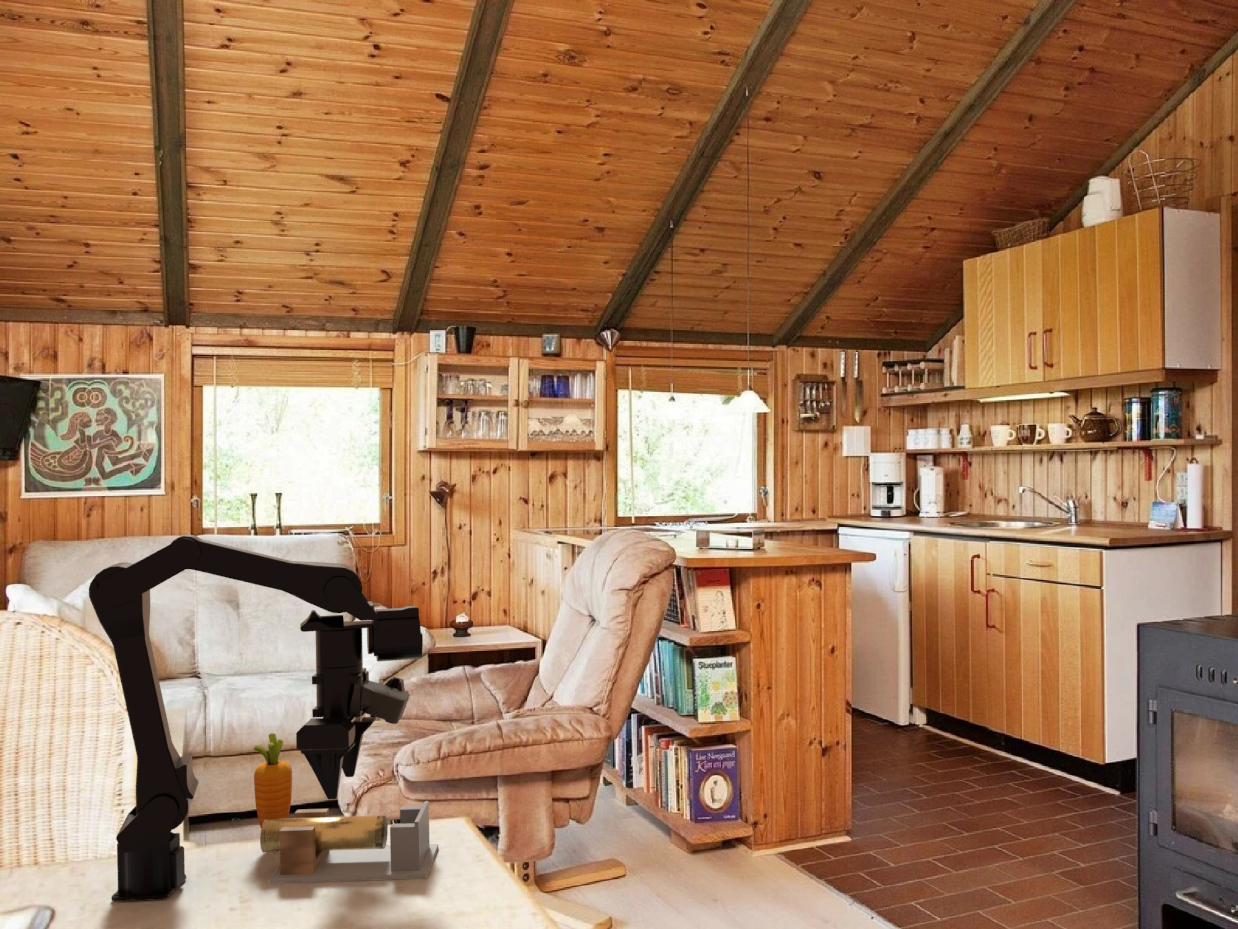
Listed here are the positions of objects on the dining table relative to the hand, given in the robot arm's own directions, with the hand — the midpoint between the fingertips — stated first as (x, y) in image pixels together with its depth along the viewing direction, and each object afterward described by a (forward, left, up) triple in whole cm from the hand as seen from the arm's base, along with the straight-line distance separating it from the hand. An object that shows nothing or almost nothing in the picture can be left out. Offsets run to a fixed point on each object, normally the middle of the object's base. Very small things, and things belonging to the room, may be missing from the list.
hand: (341, 787), depth 132 cm
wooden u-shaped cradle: (-5, 0, -10) cm, 11 cm away
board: (+2, 0, -10) cm, 10 cm away
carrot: (-11, +7, -10) cm, 16 cm away
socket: (+9, 0, -10) cm, 13 cm away
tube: (-2, 0, -8) cm, 8 cm away
